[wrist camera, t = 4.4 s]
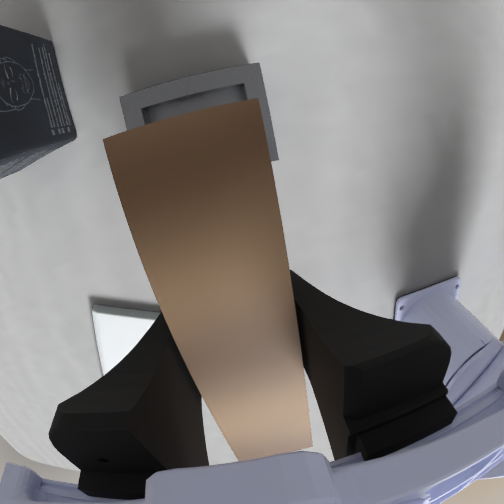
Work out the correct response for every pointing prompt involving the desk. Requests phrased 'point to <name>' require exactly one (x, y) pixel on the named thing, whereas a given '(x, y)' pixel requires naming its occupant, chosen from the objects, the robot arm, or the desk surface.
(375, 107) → the desk surface
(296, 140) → the desk surface
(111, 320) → the external hard drive
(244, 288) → the wooden block
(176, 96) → the bracket
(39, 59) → the box
